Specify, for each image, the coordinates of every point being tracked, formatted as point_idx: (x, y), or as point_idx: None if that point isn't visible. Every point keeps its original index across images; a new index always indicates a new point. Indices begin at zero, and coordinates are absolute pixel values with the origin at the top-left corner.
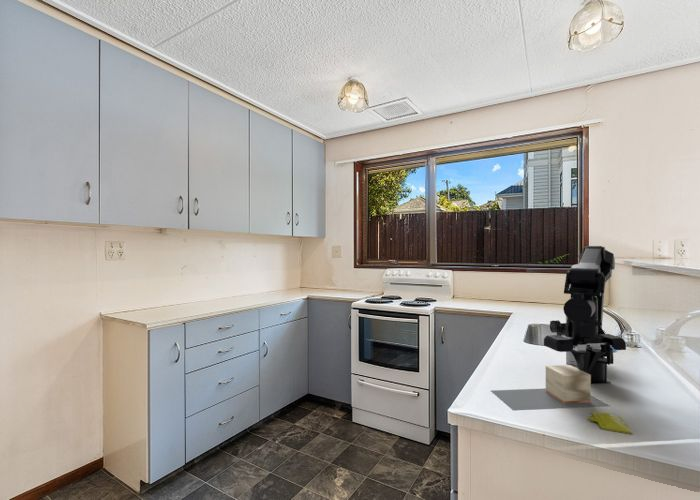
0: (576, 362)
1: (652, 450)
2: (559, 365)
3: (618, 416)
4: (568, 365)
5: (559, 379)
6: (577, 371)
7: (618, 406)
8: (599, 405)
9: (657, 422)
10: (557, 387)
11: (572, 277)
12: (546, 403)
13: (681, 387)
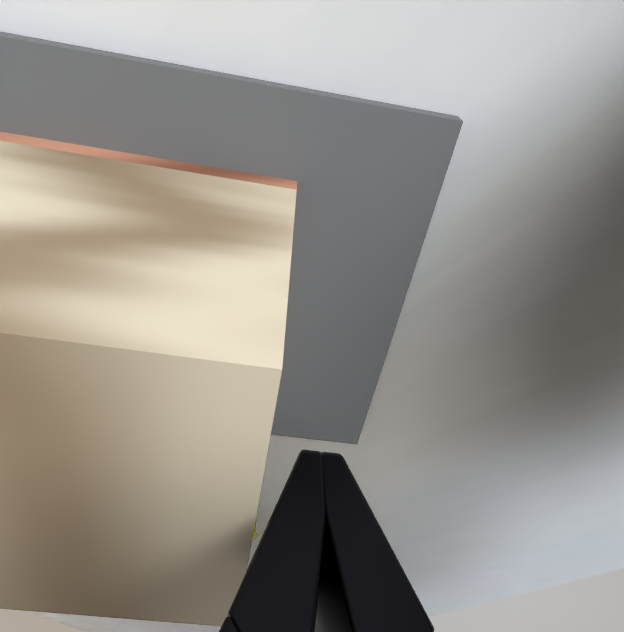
0: (236, 596)
1: (171, 628)
2: (24, 337)
3: (253, 532)
4: (227, 375)
5: None
6: (157, 555)
7: (432, 430)
8: (288, 427)
9: (424, 552)
10: None
11: None
12: None
13: None
